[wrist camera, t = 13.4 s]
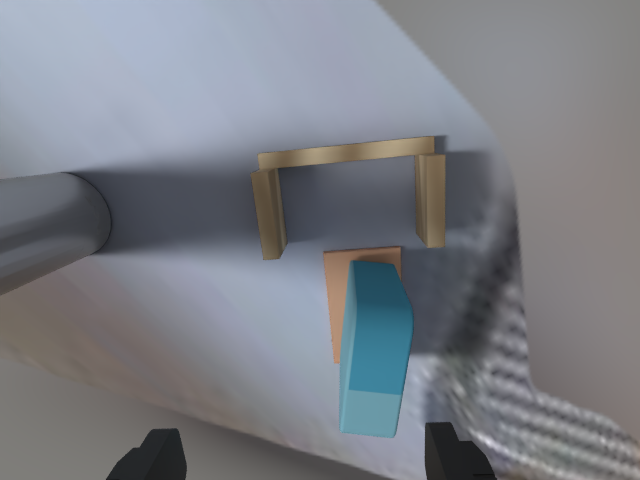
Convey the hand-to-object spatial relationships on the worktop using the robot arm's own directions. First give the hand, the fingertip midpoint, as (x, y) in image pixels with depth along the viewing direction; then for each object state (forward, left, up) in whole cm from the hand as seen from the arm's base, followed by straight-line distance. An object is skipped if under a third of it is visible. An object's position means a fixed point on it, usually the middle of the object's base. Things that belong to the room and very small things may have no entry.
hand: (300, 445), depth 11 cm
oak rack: (+2, +3, -26) cm, 26 cm away
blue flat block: (+3, -9, -26) cm, 27 cm away
